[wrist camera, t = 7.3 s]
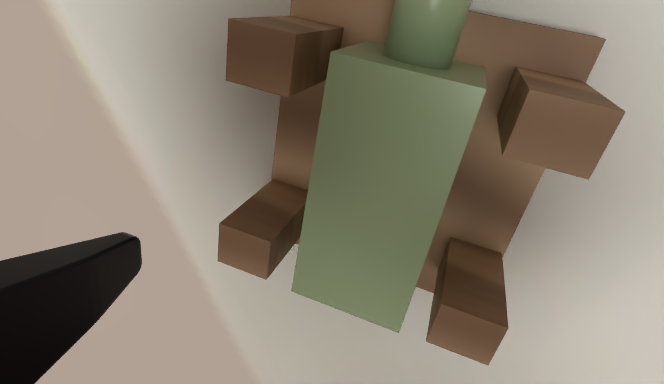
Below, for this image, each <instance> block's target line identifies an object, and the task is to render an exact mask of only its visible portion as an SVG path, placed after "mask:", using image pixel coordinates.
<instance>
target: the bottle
mask: <svg viewBox="0 0 664 384" xmlns="http://www.w3.org/2000/svg"><path fill="white" fill-rule="evenodd" d="M470 3H471V0H395V3H394V7H393V12H392V16H391V21H390V25H389V30H388V34H387V38H386V43H385V44H381V43H376V42H372V41H366V42H362V43H359V44H355V45H352V46H348V47H345V48H342V49H338V50H335V51H331V53H330V59H329V65H328V71H327V78H326V84H325V90H324V96H323V102H322V108H321V114H320V120H319V126H318V132H317V138H316V144H315V151H314V157H313V163H312V169H311V175H310V181H309V187H308V193H307V199H306V205H305V211H304V217H303V224H302V230H301V236H300V242H299V248H298V254H297V260H296V266H295V272H294V278H293V284H292V290H291V291H292V292H295V293H297V294H300V295H303V296H305V297H308V298H310V299H313V300H315V301H318V302H321V303H323V304H326V305H328V306H331V307H334V308H336V309H339V310H341V311H344V312H346V313H349V314H352V315H354V316H357V317H359V318H362V319H364V320H367V321H370V322H372V323H375V324H377V325H380V326H382V327H385V328H388V329H390V330H393V331H395V332H398V333H399V331H400V328H401V326H402V323H403V320H404V317H405V315H406V312H407V309H408V306H409V303H410V301H411V298H412V295H413V292H414V289H415V287H416V284H417V281H418V278H419V276H420V273H421V270H422V267H423V264H424V262H425V259H426V256H427V253H428V251H429V248H430V245H431V242H432V239H433V237H434V234H435V231H436V228H437V225H438V223H439V220H440V217H441V214H442V212H443V209H444V206H445V203H446V200H447V198H448V195H449V192H450V189H451V187H452V184H453V181H454V178H455V175H456V173H457V170H458V167H459V164H460V161H461V159H462V156H463V153H464V150H465V148H466V145H467V142H468V139H469V136H470V134H471V131H472V128H473V125H474V123H475V120H476V117H477V114H478V111H479V109H480V106H481V103H482V100H483V97H484V95H485V92H486V74H485V67H481V66H477V65H472V64H468V63H464V62H459V61H455V60H453V58H454V55H455V52H456V49H457V46H458V42H459V39H460V36H461V33H462V29H463V26H464V23H465V20H466V16H467V13H468V10H469V7H470Z"/></svg>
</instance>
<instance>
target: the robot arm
mask: <svg viewBox="0 0 664 384" xmlns="http://www.w3.org/2000/svg"><path fill="white" fill-rule="evenodd" d="M141 265H142V258H141V244H140V240H139V238H137V237H136V236H133V235H131V234H128V233H123V232H121V233H117V234H112V235H108V236H104V237H100V238H95V239H92V240H87V241H83V242H78V243H74V244H70V245H66V246H61V247H57V248H53V249H49V250H44V251H40V252H36V253H32V254H28V255H23V256H19V257H15V258H10V259H6V260H2V261H0V384H35V383H36V382H37V381H38V380H39V379H40V377H41V376H43V374H45V373H46V372H47V371H48V370H49V369H50V368H51V367H52V366H53V365H54V364H55V363H56V362H57V361H58V360H59V359H60V358H61V357H62V356H63V355H64V354H65V353H66V352H67V351H68V350H69V349H70V348H71V347H72V346H73V345H74V344H75V343H76V342H77V341H78V340H79V339H80V338H81V337H82V336H83V335H84V334H85V333H86V332H87V331H88V330H89V329H90V328H91V327H92V326H93V325H94V324H95V323H96V322H97V321H98V320H99V319H100V317H101V316H102V315H103V314H104V313H105V312H106V310H107V309H108V308H109V307H110V306H111V305H112V303H113V302H114V301H115V300H116V299H117V297H118V296H119V295H120V294H121V293H122V291H123V290H124V289H125V288H126V287H127V286H128V284H129V283H130V282H131V281H132V280H133V278H134V277H135V276H136V275H137V274H138V272H139V270H140V268H141Z"/></svg>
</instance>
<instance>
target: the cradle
mask: <svg viewBox="0 0 664 384" xmlns="http://www.w3.org/2000/svg"><path fill="white" fill-rule="evenodd" d="M394 3H395V0H292V2H291V11H290V16H277V17H253V18H230V19H229V21H228V43H227V65H226V80H227V81H230V82H234V83H237V84H241V85H245V86H248V87H252V88H256V89H259V90H263V91H267V92H270V93H274V94H278V95H281V100H280V109H279V117H278V126H277V135H276V144H275V153H274V162H273V171H272V180H271V181H270V182H269V183H268V184H267V185H265V186H264V187H263V188H262V189H261V190H259V191H258V192H257V193H256V194H255V195H253V196H252V197H251V198H250V199H248V200H247V201H246V202H245V203H244V204H242V205H241V206H240V207H239V208H238V209H236V210H235V211H234V212H233V213H231V214H230V215H229V216H228V217H227V218H225V219H224V220H223V221H222V222H221V223H219V244H218V261H219V262H222V263H224V264H227V265H230V266H232V267H235V268H237V269H240V270H243V271H245V272H248V273H250V274H253V275H256V276H258V277H261V278H263V279H267V278H268V277H269V276H270V274H271V273H272V272H273V270H274V269H275V268H276V267H277V265H278V264H279V263H280V262H281V260H282V259H283V258H284V257H285V255H286V254H287V253H288V252H289V250H290V249H291V248H292V246H293V245H294V244H295V243H296V244H299V242H300V236H301V230H302V224H303V217H304V211H305V205H306V199H307V193H308V187H309V181H310V175H311V169H312V163H313V157H314V151H315V144H316V138H317V132H318V126H319V120H320V114H321V108H322V102H323V96H324V90H325V84H326V78H327V71H328V65H329V59H330V53H331V51H335V50H338V49H342V48H345V47H348V46H352V45H355V44H359V43H362V42H366V41H372V42H376V43H381V44H385V43H386V38H387V34H388V30H389V25H390V21H391V16H392V12H393V7H394ZM605 40H606V39H604V38H600V37H595V36H590V35H585V34H580V33H575V32H570V31H565V30H560V29H555V28H550V27H545V26H540V25H535V24H530V23H525V22H520V21H515V20H510V19H505V18H500V17H495V16H490V15H485V14H480V13H475V12H470V11H468V13H467V16H466V20H465V23H464V26H463V29H462V33H461V36H460V39H459V42H458V46H457V49H456V52H455V55H454V58H453V60H455V61H459V62H464V63H468V64H472V65H477V66H481V67H485V74H486V92H485V95H484V97H483V100H482V103H481V106H480V109H479V111H478V114H477V117H476V120H475V123H474V125H473V128H472V131H471V134H470V136H469V139H468V142H467V145H466V148H465V150H464V153H463V156H462V159H461V161H460V164H459V167H458V170H457V173H456V175H455V178H454V181H453V184H452V187H451V189H450V192H449V195H448V198H447V200H446V203H445V206H444V209H443V212H442V214H441V217H440V220H439V223H438V225H437V228H436V231H435V234H434V237H433V239H432V242H431V245H430V248H429V251H428V253H427V256H426V259H425V262H424V264H423V267H422V270H421V273H420V276H419V278H418V281H417V284H416V287H418V288H421V289H424V290H427V291H430V292H432V293H434V296H433V302H432V308H431V315H430V321H429V327H428V333H427V339H426V342H429V343H431V344H434V345H437V346H439V347H442V348H444V349H447V350H449V351H452V352H455V353H457V354H460V355H462V356H465V357H468V358H470V359H473V360H475V361H478V362H480V363H483V364H486V365H489V363H490V361H491V359H492V357H493V356H494V354H495V352H496V350H497V348H498V346H499V345H500V343H501V341H502V339H503V337H504V335H505V333H506V332H507V330H508V319H507V308H506V296H505V284H504V272H503V260H502V257H503V255H504V253H505V251H506V249H507V247H508V245H509V243H510V241H511V238H512V236H513V234H514V232H515V230H516V228H517V226H518V224H519V222H520V219H521V217H522V215H523V213H524V211H525V209H526V207H527V205H528V203H529V201H530V198H531V196H532V194H533V192H534V190H535V188H536V186H537V184H538V182H539V179H540V177H541V175H542V173H543V171H544V169H545V168H548V169H552V170H556V171H559V172H563V173H567V174H570V175H574V176H578V177H581V178H585V179H589V178H590V176H591V175H592V173H593V171H594V169H595V167H596V165H597V163H598V162H599V160H600V158H601V156H602V154H603V152H604V151H605V149H606V147H607V145H608V143H609V141H610V139H611V138H612V136H613V134H614V132H615V130H616V128H617V127H618V125H619V123H620V121H621V119H622V117H623V115H624V114H625V111H624V110H622V109H621V108H619V107H618V106H617V105H615V104H614V103H613V102H611V101H610V100H608V99H607V98H606V97H604V96H603V95H601V94H600V93H599V92H597V91H596V90H595V89H593V88H592V87H590V86H589V85H588V84H586V80H587V78H588V76H589V74H590V72H591V70H592V68H593V66H594V64H595V61H596V59H597V57H598V55H599V53H600V51H601V49H602V47H603V45H604V42H605Z"/></svg>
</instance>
